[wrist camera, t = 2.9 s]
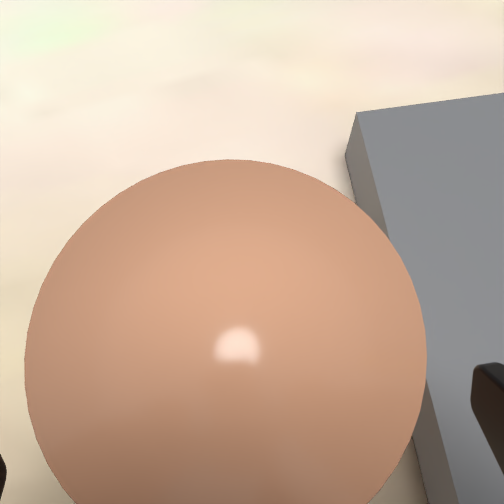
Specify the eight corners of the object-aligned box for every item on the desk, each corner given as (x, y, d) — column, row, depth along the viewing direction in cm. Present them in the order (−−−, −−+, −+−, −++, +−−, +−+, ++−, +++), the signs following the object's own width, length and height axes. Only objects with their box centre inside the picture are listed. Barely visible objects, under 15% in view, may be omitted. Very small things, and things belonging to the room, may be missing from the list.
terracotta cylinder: (346, 462, 16) (481, 531, 6) (179, 486, 16) (11, 599, 6) (316, 300, 18) (374, 138, 8) (168, 320, 18) (33, 184, 8)
